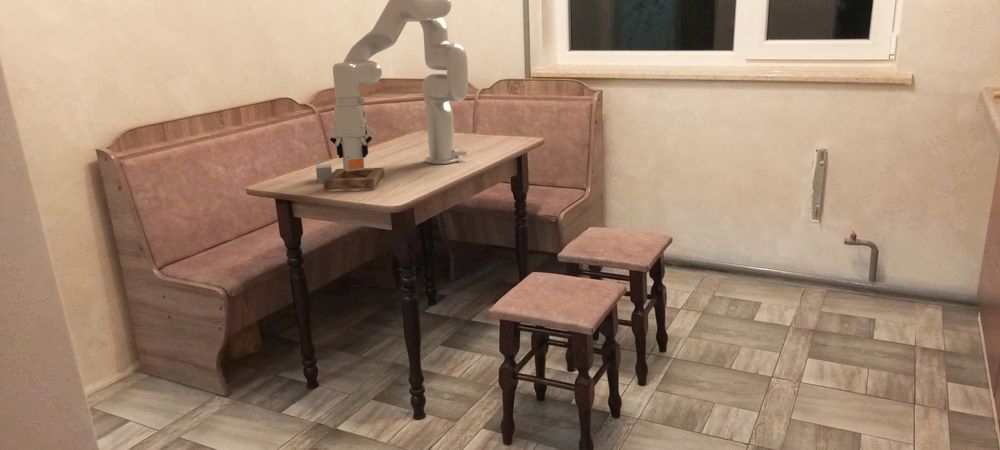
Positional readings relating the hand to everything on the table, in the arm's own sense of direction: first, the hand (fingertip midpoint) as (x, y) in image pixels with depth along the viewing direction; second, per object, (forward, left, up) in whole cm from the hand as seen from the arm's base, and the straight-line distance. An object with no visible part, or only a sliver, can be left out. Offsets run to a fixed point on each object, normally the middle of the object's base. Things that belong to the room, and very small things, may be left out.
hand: (353, 156), depth 248 cm
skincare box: (0, 0, -4) cm, 4 cm away
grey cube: (+12, -7, -9) cm, 17 cm away
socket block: (0, 0, -9) cm, 9 cm away
